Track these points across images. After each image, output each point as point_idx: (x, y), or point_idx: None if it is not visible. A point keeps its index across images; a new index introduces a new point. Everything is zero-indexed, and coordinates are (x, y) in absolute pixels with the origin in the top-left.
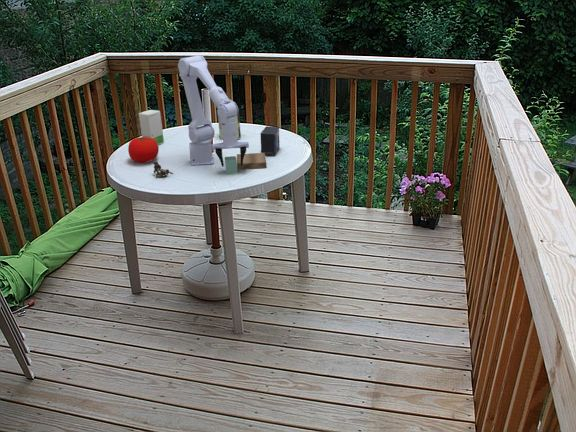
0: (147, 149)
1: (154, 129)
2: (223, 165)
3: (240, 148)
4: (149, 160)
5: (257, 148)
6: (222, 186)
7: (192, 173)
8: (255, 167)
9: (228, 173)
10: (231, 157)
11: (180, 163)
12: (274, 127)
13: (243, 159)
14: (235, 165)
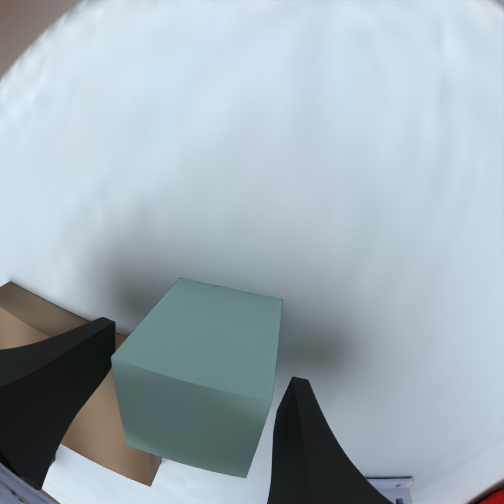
0: None
1: None
2: (289, 389)
3: (3, 455)
4: (502, 493)
5: (85, 478)
6: (390, 31)
7: (475, 396)
8: (50, 309)
9: (261, 299)
10: (171, 442)
11: (431, 492)
12: None
13: (106, 422)
14: (161, 322)
